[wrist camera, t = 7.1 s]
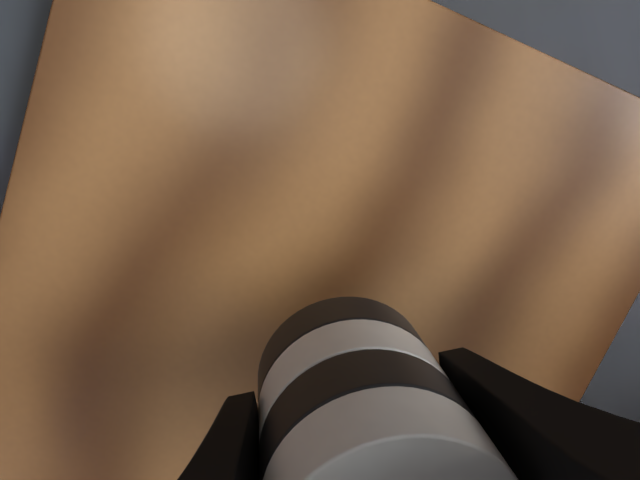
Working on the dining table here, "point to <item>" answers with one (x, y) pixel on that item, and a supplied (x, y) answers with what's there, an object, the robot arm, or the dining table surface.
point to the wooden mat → (292, 211)
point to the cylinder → (363, 402)
